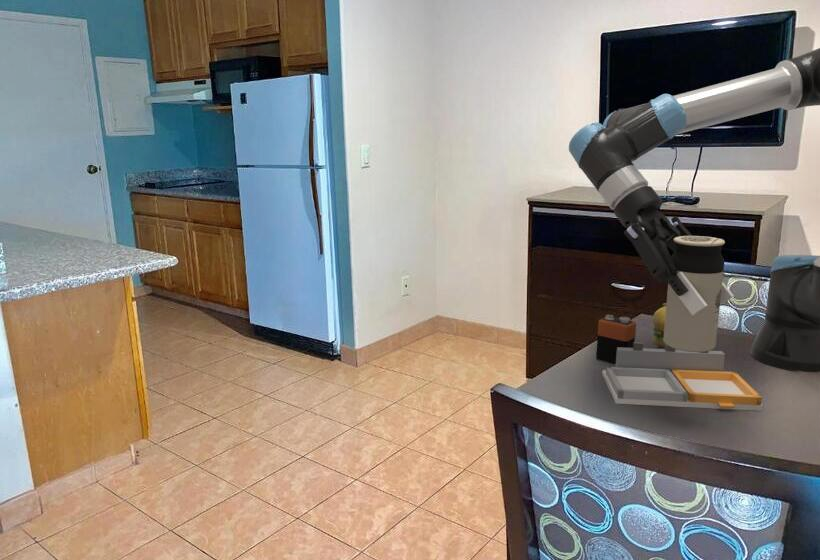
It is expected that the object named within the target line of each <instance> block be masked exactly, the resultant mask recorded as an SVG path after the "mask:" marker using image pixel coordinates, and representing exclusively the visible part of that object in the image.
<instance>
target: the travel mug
mask: <svg viewBox="0 0 820 560" xmlns="http://www.w3.org/2000/svg"><path fill="white" fill-rule="evenodd" d="M674 242H675V245H676V250H675V252H674V251H673V253H672V255H670V256H671V258H672V260H673V262H674V265H675V267H676V269H677V273H676V274H678V273H679V272H683V274H684V275H685V276H686V278H687V279H688V280H689V281H690V283H691V284H692V285H693V287H694V288H695V289H696V291H697V292H698V293H699V295H700V296H701V297H702V298H703V300H704V301H705V302H706V304H707V306H706V307H705V308H703V309H702V310H700V311H699V312H697V313H696V314H694V315H692V314H691V313H690V312H689V310H688V309H687V308H686V306H685V305H684V304H683V302H682V301H681V300H680V298H679V297H678V296H677V294H676V293H675V292H674V290H673V289H672V288H671V286H670V285H669V284H668V283H667V294H666V295H667V296H666V303H667V304H666V315H665V326H664V338H663V341H664V343H665V344H667V345H668V346H670V347H672V348H675V349H678V350H682V351H688V352H705V351H713V350H714V349H715V348H716V345H717V335H718V326H719V325H718V324H719V315H720V306H721V305H720V299H721V290H722V281H723V282H724V280H723V279H724V269H725V259H724V257H723V255H722V249H723V246H724V244H725V243H726V242H725V240H724V239H723V238H719V237H718V238H717V237H712V236H704V235H703V236H702V235H701V236H700V235H692V236H680V237H676V238H674Z"/></svg>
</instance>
